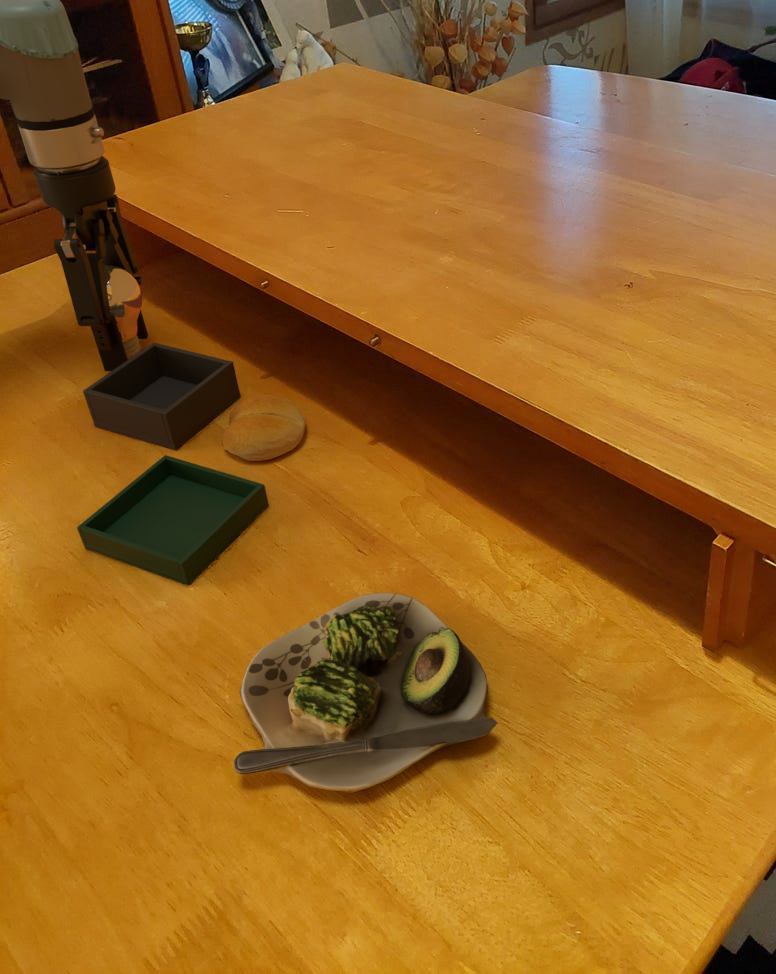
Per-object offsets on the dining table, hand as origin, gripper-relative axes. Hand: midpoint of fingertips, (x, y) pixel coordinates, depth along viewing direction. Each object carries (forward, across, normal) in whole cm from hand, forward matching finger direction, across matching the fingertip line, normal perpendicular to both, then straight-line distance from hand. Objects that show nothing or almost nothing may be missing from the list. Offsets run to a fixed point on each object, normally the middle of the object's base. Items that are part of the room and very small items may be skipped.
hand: (127, 352), depth 111 cm
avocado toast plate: (+1, -51, -34) cm, 62 cm away
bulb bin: (+1, -11, -8) cm, 14 cm away
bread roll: (+1, -17, -20) cm, 26 cm away
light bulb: (+1, 0, 0) cm, 1 cm away
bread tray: (+1, -31, -14) cm, 34 cm away
